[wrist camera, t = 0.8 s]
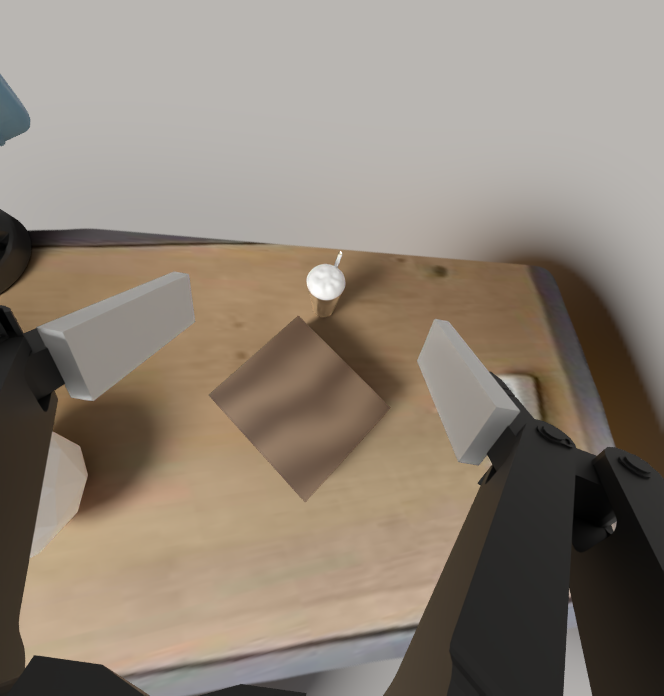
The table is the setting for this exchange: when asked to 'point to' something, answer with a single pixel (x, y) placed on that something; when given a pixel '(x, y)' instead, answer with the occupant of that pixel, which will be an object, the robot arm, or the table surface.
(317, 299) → the milkshake
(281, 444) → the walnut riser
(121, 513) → the table surface
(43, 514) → the geodesic sphere
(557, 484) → the robot arm
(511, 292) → the table surface
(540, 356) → the table surface
